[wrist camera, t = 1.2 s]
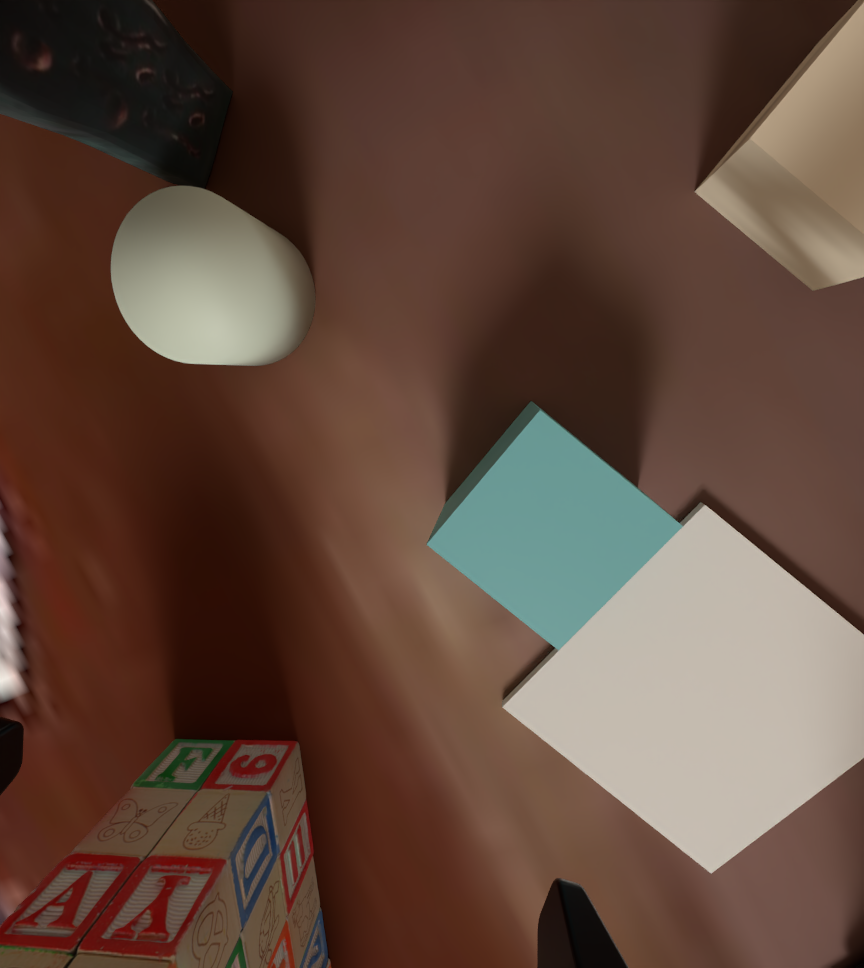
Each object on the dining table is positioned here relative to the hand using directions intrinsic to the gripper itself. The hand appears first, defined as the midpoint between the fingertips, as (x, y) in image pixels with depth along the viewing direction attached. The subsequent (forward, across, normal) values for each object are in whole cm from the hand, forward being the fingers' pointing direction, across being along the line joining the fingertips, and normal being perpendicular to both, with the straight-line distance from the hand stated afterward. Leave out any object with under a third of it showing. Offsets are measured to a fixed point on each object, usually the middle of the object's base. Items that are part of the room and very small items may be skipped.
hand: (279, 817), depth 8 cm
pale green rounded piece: (+13, +8, -8) cm, 17 cm away
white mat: (+12, -13, +3) cm, 18 cm away
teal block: (+12, -4, -3) cm, 14 cm away
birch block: (+13, -10, -16) cm, 22 cm away
